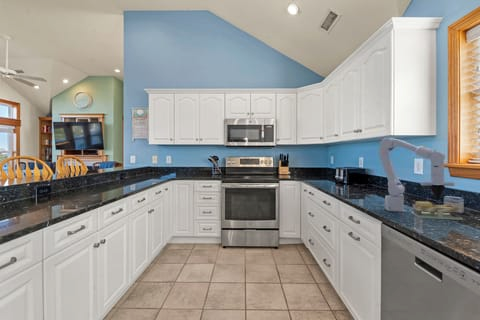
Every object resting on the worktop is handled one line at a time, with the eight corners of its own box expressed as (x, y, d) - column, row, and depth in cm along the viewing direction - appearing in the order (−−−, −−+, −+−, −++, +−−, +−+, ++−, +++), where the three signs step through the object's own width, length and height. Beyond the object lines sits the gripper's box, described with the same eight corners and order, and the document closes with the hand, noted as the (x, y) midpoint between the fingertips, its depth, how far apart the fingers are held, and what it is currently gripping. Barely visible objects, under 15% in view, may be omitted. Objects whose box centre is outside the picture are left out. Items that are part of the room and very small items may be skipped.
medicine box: (443, 210, 148) (443, 196, 147) (447, 210, 150) (447, 195, 150) (460, 213, 141) (460, 198, 140) (463, 212, 143) (464, 197, 142)
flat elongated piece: (418, 211, 134) (418, 207, 134) (412, 207, 142) (412, 204, 142) (461, 212, 129) (461, 208, 128) (452, 208, 137) (452, 205, 137)
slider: (419, 208, 135) (419, 203, 135) (415, 206, 140) (415, 201, 140) (432, 208, 134) (432, 203, 134) (428, 207, 138) (428, 201, 138)
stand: (418, 217, 133) (418, 209, 133) (411, 213, 144) (411, 205, 143) (463, 220, 127) (463, 211, 127) (452, 214, 138) (452, 206, 138)
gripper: (424, 174, 133) (424, 199, 134) (457, 174, 129) (457, 200, 130) (419, 173, 140) (419, 197, 141) (450, 173, 136) (450, 198, 136)
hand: (437, 199), depth 136 cm, fingers closed
